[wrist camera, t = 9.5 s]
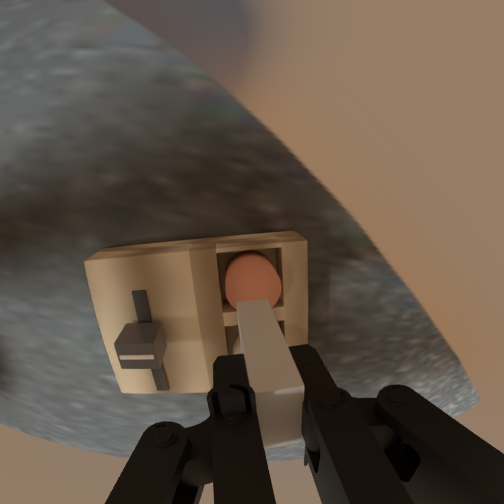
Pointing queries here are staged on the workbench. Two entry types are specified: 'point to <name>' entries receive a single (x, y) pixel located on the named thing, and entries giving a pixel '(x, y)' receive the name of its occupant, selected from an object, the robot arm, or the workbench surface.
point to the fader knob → (141, 346)
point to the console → (190, 302)
